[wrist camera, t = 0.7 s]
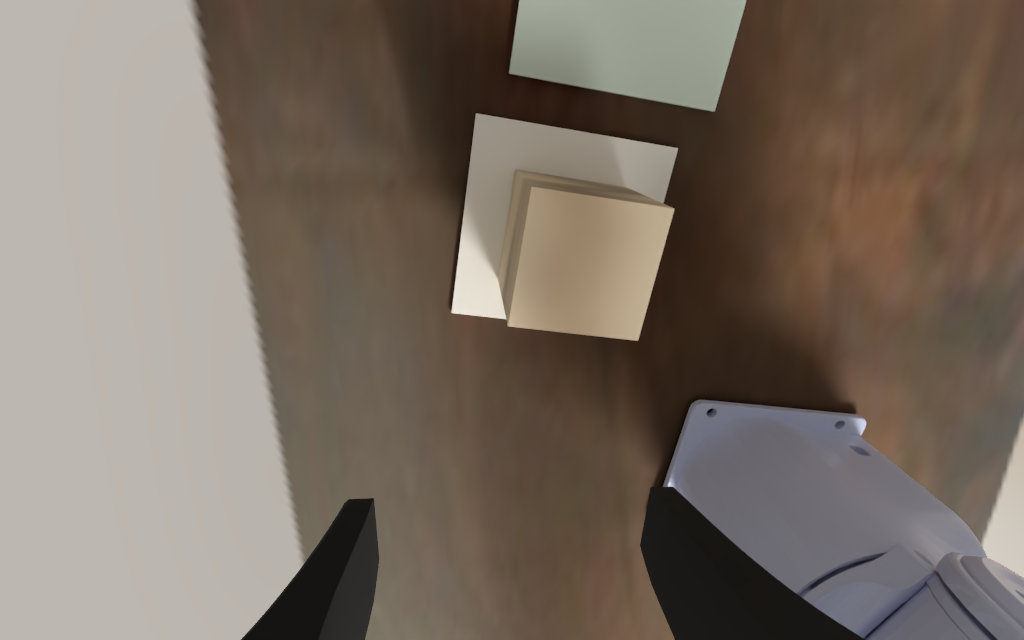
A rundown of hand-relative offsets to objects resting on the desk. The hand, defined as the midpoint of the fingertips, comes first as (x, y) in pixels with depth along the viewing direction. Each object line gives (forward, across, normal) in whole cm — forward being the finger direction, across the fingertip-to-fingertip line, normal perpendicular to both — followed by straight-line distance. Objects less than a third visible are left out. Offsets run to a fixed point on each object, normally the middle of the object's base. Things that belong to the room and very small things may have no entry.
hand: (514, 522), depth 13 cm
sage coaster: (+10, -5, -14) cm, 18 cm away
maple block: (+10, -3, -5) cm, 12 cm away
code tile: (+10, -3, -5) cm, 12 cm away
